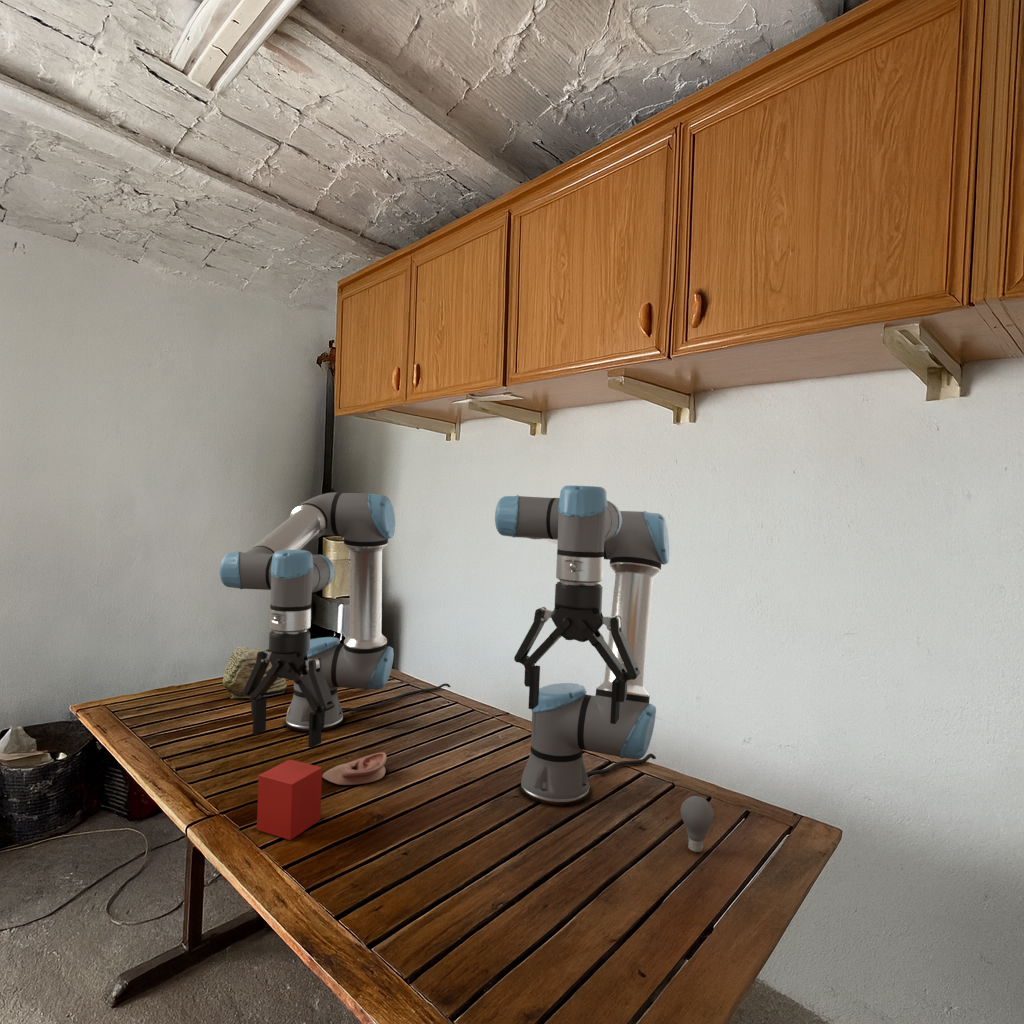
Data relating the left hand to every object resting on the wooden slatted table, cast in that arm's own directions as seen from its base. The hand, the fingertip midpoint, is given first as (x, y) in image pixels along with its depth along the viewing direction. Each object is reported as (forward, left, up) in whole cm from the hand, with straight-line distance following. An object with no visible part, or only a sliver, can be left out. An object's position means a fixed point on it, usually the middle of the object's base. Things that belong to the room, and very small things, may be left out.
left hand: (286, 738), depth 123 cm
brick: (0, +2, -16) cm, 16 cm away
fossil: (-36, -75, -16) cm, 84 cm away
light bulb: (-46, +65, -16) cm, 81 cm away
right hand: (-17, +55, +14) cm, 59 cm away
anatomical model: (-22, -6, -16) cm, 28 cm away
